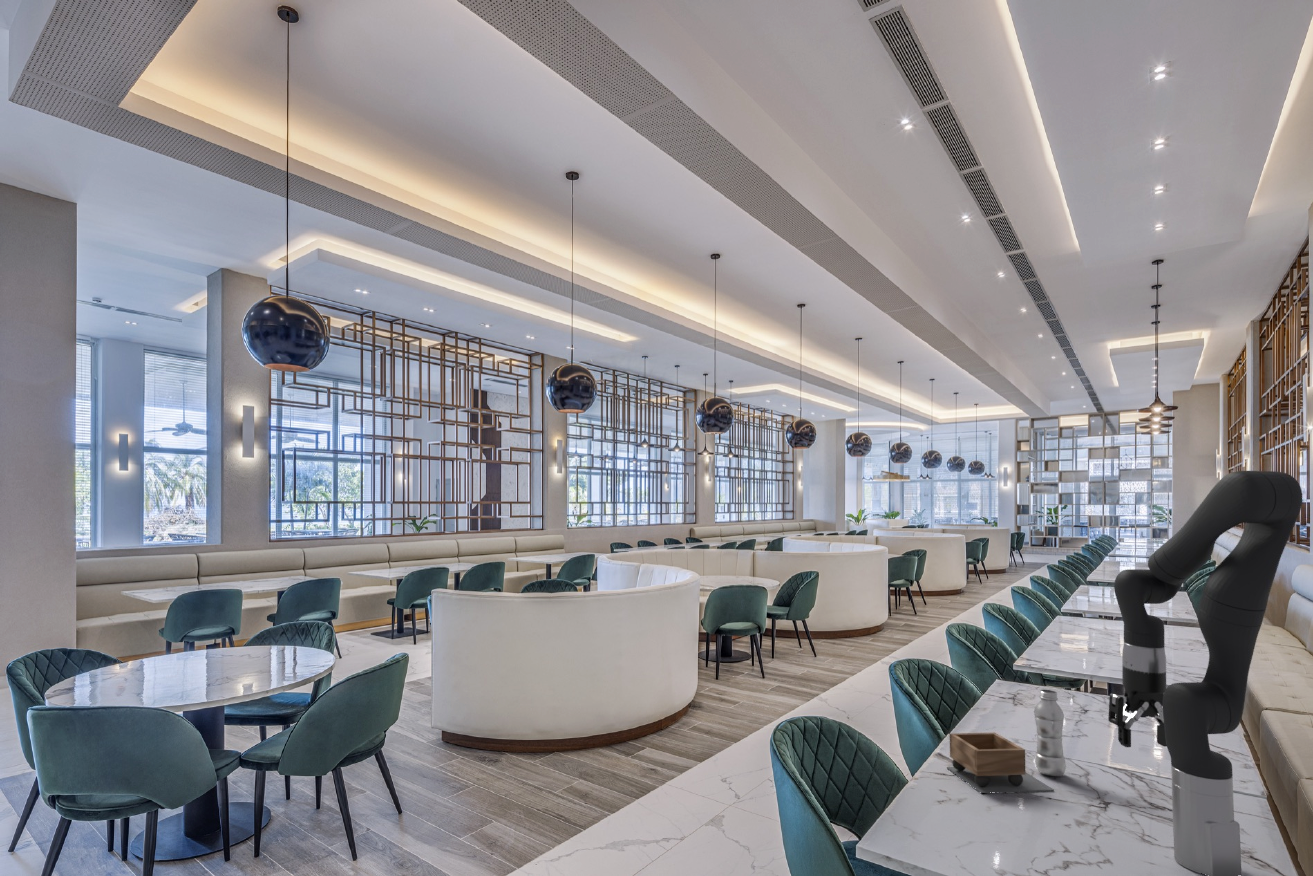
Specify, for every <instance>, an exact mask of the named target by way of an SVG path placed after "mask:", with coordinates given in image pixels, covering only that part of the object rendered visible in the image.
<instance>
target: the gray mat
mask: <svg viewBox="0 0 1313 876" xmlns="http://www.w3.org/2000/svg"><path fill="white" fill-rule="evenodd" d="M946 769H947V770H948V771H949V770H950V771H949V772H951V773H952V772H953V773H952V774H954V775H955V774H956V775H957V776H956V775H955V776H956V777H958V778H959V777H960V778H961V780H962V779H963V780H964V781H966V782H967V783H969V784H970V785H971V786H973V787H974V788H976V790H975V791H977V790H978V791H979V792H981V793H990V792H991V793H992V792H995V794H1001V793H1000V792H1023V793H1046V792H1047V793H1048V792H1055V789H1053V787H1051V786H1049V785H1048V784H1046V783H1045V782H1042V780H1041V781H1040V780H1039V779H1038V778H1036V777H1034V776H1033V775H1031V774H1030V773H1028V772H1026V775H1022V777H1023V782H1022V784H1021V785H1019V786H1014V785H1013V784H1011V783H1010V782H1009V781H1008V775H995V776H988V777H989V784H988V785H987V786H986V787H980V786H979V785H978V784H976V783H975V780H974V777H975V774H974V773H972V772H971V771H969V770H968V769H967V768H965V769H964V770H963V771H958V770H957V769H955V768H954V767H953V766H947V767H946ZM960 778H959V779H960ZM963 780H962V781H963ZM964 781H963V782H964ZM966 782H965V783H966ZM967 783H966V784H967ZM970 785H969V786H970ZM971 786H970V787H971ZM973 787H972V788H973ZM974 788H973V789H974ZM978 791H977V792H978ZM979 792H978V793H979ZM997 792H999V793H997ZM981 793H980V794H981Z"/></svg>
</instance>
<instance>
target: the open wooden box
mask: <svg viewBox="0 0 1313 876" xmlns="http://www.w3.org/2000/svg"><path fill="white" fill-rule="evenodd" d="M949 757H950V758H951V759H952V767H954V768H955V769H957V770H958V771H963V770H964V769H965V768H967V769H968V770H969V771H971V772H972V773H974V774H975V777H974V780H975V783H976V784H978V785H979V786H980V787H986V786H987V785H988V784H989V777H988V776H995V775H1008V781H1009V782H1010V783H1011V784H1013V785H1014V786H1019V785H1021V784H1022V782H1023V777H1022V775H1026V773H1027V772H1026V770H1027V769H1026V749H1024V748H1023V747H1021V746H1019V745H1018V744H1016V743H1014V742H1012V741H1010V739H1009V740H1008V739H1007V738H1005V737H1003V736H1001V734H999V733H996V732H964V733H963V732H962V733H949Z"/></svg>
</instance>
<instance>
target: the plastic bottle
mask: <svg viewBox="0 0 1313 876" xmlns="http://www.w3.org/2000/svg"><path fill="white" fill-rule="evenodd" d="M1039 699H1040V700H1039V702H1038V703H1037V704H1036V706H1034V708H1033V709H1034V710H1033V715H1034V721H1035V722H1034V723H1035V727H1036V734H1037V735H1036V738H1037V739H1036V740H1037V741H1036V753H1035V757H1034V758H1035V759H1034V763H1035V767H1036V770H1037V771H1038V772H1040V773H1041V774H1043V775H1046V776H1050V777H1063V776H1064V774H1065V773H1066V771H1067V770H1066V767H1067V764H1066V759H1065V756H1064V748H1063V730H1064V729H1063V728H1064V719H1065V718H1064V717H1065V714H1064V712H1063V710H1062V708H1061V706H1060V705H1059V704H1058V702H1057V701H1058V700H1059V699H1058V691H1056V690H1052V689H1045V688H1043V689H1040V691H1039Z"/></svg>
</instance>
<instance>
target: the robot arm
mask: <svg viewBox="0 0 1313 876" xmlns="http://www.w3.org/2000/svg"><path fill="white" fill-rule="evenodd" d="M1302 506H1303V491H1302V487H1301V485H1300V483H1299V481H1298V480H1297V479H1296V478H1295V477H1294V476H1293V475H1290V474H1289V473H1286V472H1283V471H1275V470H1271V471H1270V470H1237V471H1233V472H1229V473H1228V474H1225V475H1224V476H1223V477H1221V479H1219V480H1218V481H1217V482H1216V484H1215V485H1214V486H1213V487H1212V489H1211V490H1210V491H1209V493H1207V495H1206V496H1205V498H1204V499H1203V501H1202V502H1201V503H1200V504H1199V506H1198V507H1197V508H1196V510H1195V511H1194V512H1193V513H1192V514H1191V516H1190V517H1189V518H1188V519H1187V520H1186V522H1185V523H1184V524H1183V526H1182V527H1181V528H1180V529H1179V530H1178V531H1176V533H1175V534H1174V535H1173V536H1171V538H1169V539H1168V540H1167V541H1166V542H1165V543H1163V544H1162V545H1161V546H1160V547H1158V548H1157V549H1156V550H1155V551H1154V552H1153V553H1152V554H1151V555H1150V556H1149V558H1148V559H1147V567H1148V569H1134V568H1133V569H1129V568H1128V569H1125V570H1122V571H1120V572H1118V573H1117V575H1116V576H1115V580H1114V582H1113V583H1114V585H1113V589H1114V590H1113V591H1114V594H1115V598H1116V601H1117V604H1118V607H1119V608H1118V609H1119V611H1120V615H1121V619H1122V621H1123V648H1122V655H1121V656H1122V658H1121V659H1122V660H1121V661H1122V671H1121V672H1122V682H1121V683H1122V686H1123V687H1124V693H1123V694H1122V695H1121V694H1120V695H1119V694H1116V693H1114V692H1113V693H1112V692H1111V693H1110V694H1109V699H1108V701H1109V703H1108V718H1107V719H1108V722H1109V723H1111V724H1113V725H1116V726H1117V734H1118V735H1117V740H1118V742H1119V744H1120V745H1121V746H1123V747H1125V748H1131V747H1132V729H1131V727H1132V726H1133V724H1134V723H1135V722H1138V720H1139V719H1140V718H1147V717H1149V718H1154V719H1155V721H1156V722H1157V724H1158V725H1156V743H1157V744H1158V745H1160V746H1162V747H1166V748H1167V751H1168V753H1169V755H1170V768H1171V796H1172V797H1171V799H1172V800H1171V801H1172V802H1171V803H1172V827H1173V828H1172V831H1173V832H1172V833H1173V835H1172V836H1173V857H1174V859H1175V861H1176V862H1177V863H1178V864H1180V865H1181V866H1182V867H1184V868H1187V870H1190V871H1193V872H1195V873H1198V874H1201V873H1202V874H1201V875H1204V874H1206V875H1205V876H1207V875H1209V876H1238V875H1242V854H1241V853H1242V850H1241V829H1240V826H1241V825H1240V823H1239V822H1238V821H1236V820H1235V809H1234V807H1235V805H1234V802H1235V801H1234V780H1233V777H1234V776H1233V774H1234V773H1233V765H1232V762H1231V759H1229V758H1228V757H1227V756H1225V755H1224V754H1221V753H1219V752H1216V751H1213V750H1212V749H1211V748H1210V747H1211V746H1210V743H1209V741H1210V740H1209V735H1220V734H1222V735H1223V734H1229V733H1232V732H1233V731H1235V730H1236V729H1237V728H1238V727H1239V725H1240V724H1241V721H1242V717H1243V715H1244V709H1245V701H1246V695H1247V693H1246V692H1247V685H1248V679H1249V672H1250V668H1251V667H1250V666H1251V663H1252V660H1253V655H1254V652H1255V648H1256V644H1257V639H1258V636H1259V632H1260V629H1261V628H1262V624H1263V621H1264V618H1265V614H1266V610H1267V606H1268V601H1269V596H1270V593H1271V589H1272V586H1273V582H1274V581H1275V577H1276V574H1277V570H1278V568H1279V563H1280V561H1281V558H1282V556H1283V553H1284V550H1285V548H1286V546H1287V543H1288V541H1289V539H1290V537H1291V534H1292V531H1293V529H1294V527H1295V525H1296V523H1297V520H1298V518H1299V516H1300V513H1301V509H1302ZM1244 523H1245V524H1244ZM1241 524H1244V528H1243V531H1242V534H1241V537H1240V539H1239V540H1238V542H1237V543H1236V545H1235V547H1234V548H1233V549H1232V550H1231V552H1230V553H1229V554H1228V555H1227V556H1226V557H1225V558H1224V559H1223V560H1222V561H1221V562H1220V563H1219V564H1218V565H1217V566H1216V567H1215V568H1214V569H1213V570H1212V572H1211V573H1210V575H1209V576H1208V577H1207V579H1206V580H1205V582H1204V585H1203V588H1202V592H1201V596H1200V599H1199V603H1198V607H1197V612H1196V613H1197V622H1198V625H1199V628H1200V632H1201V634H1202V636H1203V639H1204V641H1205V644H1206V646H1207V649H1208V653H1209V654H1208V655H1209V656H1208V663H1207V668H1206V672H1205V675H1204V677H1203V679H1202V681H1200V682H1199V681H1197V682H1193V681H1191V682H1175V683H1171V684H1169V686H1167V655H1166V651H1165V623H1164V621H1163V620H1162V618H1159V617H1158V616H1156V615H1155V616H1154V615H1151V614H1148V612H1147V609H1146V606H1145V605H1147V604H1148V605H1153V604H1155V605H1158V604H1164V603H1166V602H1169V601H1171V600H1172V599H1173V598H1174V597H1175V596H1176V595H1177V593H1178V592H1179V590H1180V589H1181V587H1182V586H1183V584H1184V582H1185V580H1186V579H1188V578H1189V577H1191V576H1192V575H1193V574H1195V573H1196V572H1197V571H1198V570H1200V569H1201V568H1202V567H1203V566H1205V565H1206V564H1207V562H1208V561H1209V560H1210V558H1211V556H1212V555H1213V552H1214V548H1215V544H1216V542H1217V540H1218V539H1219V537H1220V536H1221V535H1223V534H1224V533H1226V532H1227V531H1229V530H1231V529H1233V528H1235V527H1236V526H1239V525H1241Z"/></svg>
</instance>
